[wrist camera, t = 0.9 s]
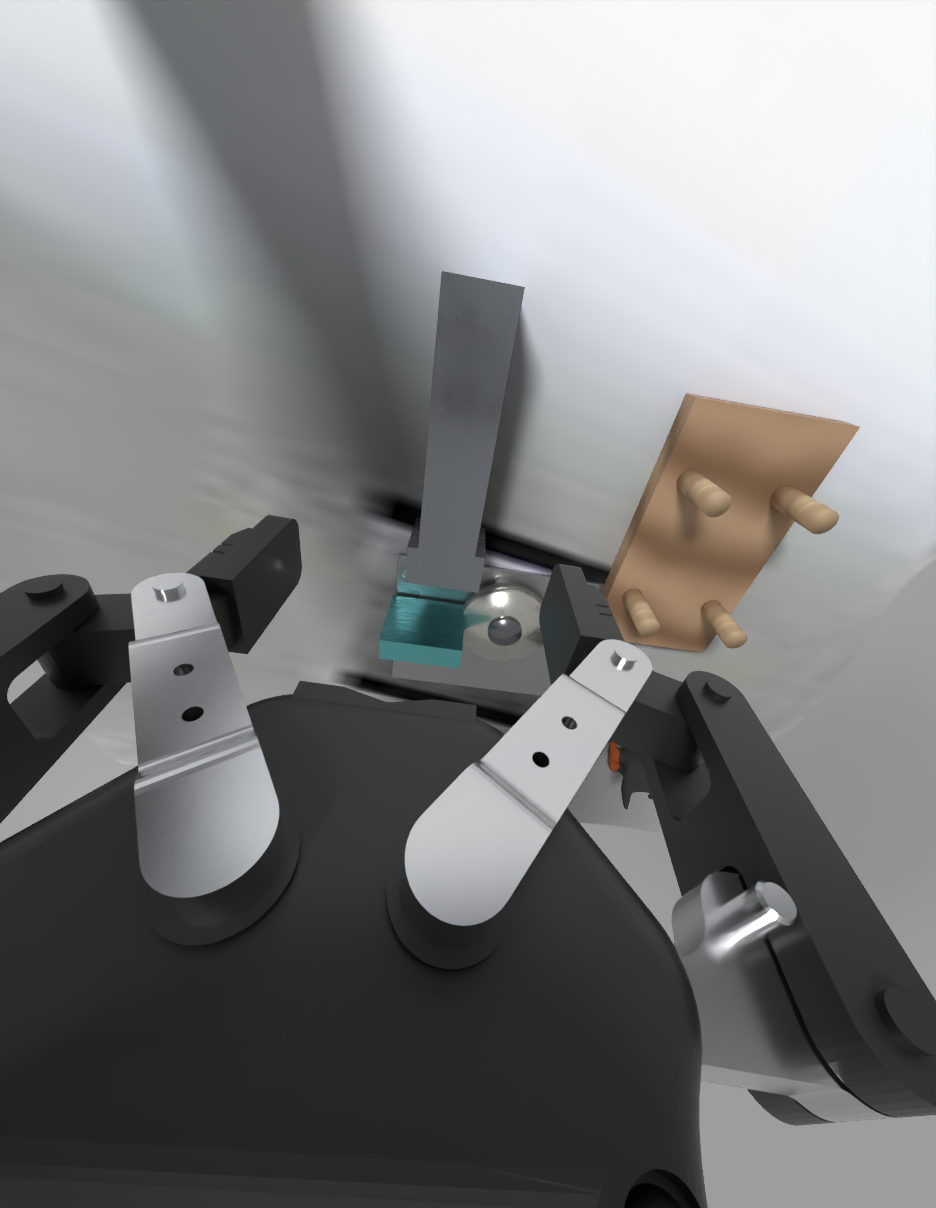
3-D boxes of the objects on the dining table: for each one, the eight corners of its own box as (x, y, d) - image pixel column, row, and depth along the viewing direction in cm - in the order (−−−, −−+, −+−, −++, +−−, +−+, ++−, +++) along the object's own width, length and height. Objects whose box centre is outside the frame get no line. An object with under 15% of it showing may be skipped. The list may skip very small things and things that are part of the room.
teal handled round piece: (394, 566, 34) (379, 609, 29) (558, 589, 35) (570, 635, 30) (391, 636, 38) (378, 683, 34) (535, 655, 39) (542, 704, 34)
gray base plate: (399, 553, 34) (398, 555, 33) (605, 583, 35) (605, 585, 34) (392, 675, 42) (392, 677, 42) (556, 695, 44) (557, 697, 43)
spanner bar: (436, 275, 23) (426, 268, 19) (530, 293, 23) (539, 290, 19) (414, 549, 33) (405, 582, 29) (478, 559, 34) (478, 592, 30)
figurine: (605, 745, 53) (734, 758, 50) (610, 822, 46) (763, 845, 42) (609, 709, 49) (750, 720, 45) (615, 788, 41) (787, 809, 37)
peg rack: (686, 393, 26) (730, 411, 21) (843, 421, 27) (919, 445, 22) (586, 626, 38) (600, 670, 33) (696, 641, 38) (725, 687, 34)
